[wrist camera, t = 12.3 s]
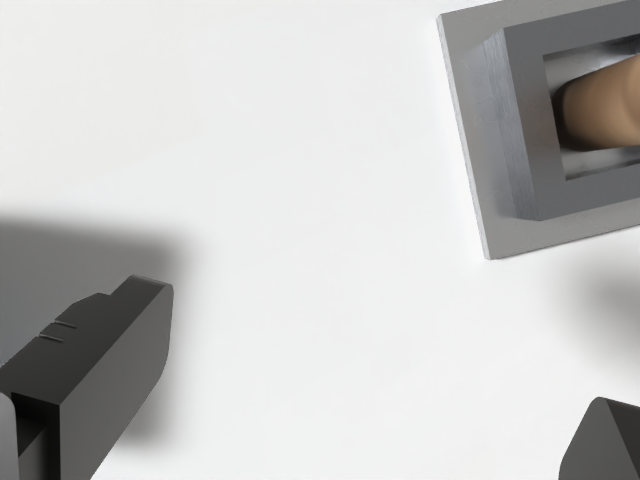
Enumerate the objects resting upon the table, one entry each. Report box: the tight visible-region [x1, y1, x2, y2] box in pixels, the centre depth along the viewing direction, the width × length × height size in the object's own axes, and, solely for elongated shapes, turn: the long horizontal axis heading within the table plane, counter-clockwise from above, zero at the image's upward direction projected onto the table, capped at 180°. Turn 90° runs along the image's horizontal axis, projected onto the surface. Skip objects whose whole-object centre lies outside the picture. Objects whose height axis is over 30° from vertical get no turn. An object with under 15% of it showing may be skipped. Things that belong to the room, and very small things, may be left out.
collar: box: [436, 0, 640, 260], centre depth 27 cm, size 12×12×3 cm
